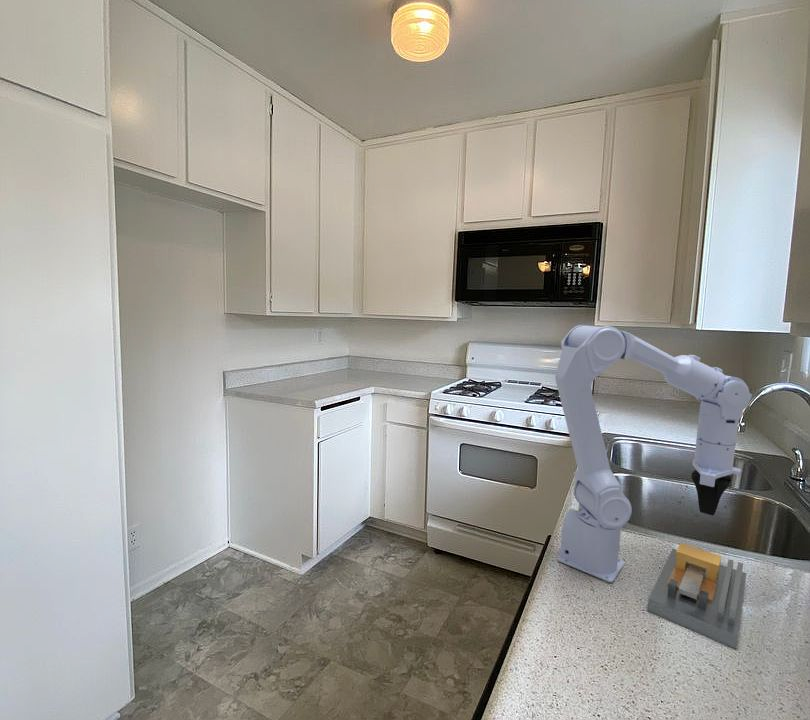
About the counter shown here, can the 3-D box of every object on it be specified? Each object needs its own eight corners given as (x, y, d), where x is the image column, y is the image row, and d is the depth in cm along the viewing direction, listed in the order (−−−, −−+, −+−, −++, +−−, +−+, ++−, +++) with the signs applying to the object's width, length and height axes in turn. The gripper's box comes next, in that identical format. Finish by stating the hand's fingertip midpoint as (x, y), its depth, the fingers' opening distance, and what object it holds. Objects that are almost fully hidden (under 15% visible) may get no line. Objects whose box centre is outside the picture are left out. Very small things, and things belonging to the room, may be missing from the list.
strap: (678, 592, 67) (678, 588, 66) (689, 563, 75) (689, 560, 75) (696, 599, 65) (697, 595, 65) (705, 569, 73) (706, 565, 73)
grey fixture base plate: (647, 610, 66) (650, 584, 66) (671, 558, 81) (674, 536, 80) (736, 649, 59) (740, 619, 58) (744, 584, 74) (748, 560, 73)
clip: (674, 568, 74) (676, 551, 74) (678, 559, 77) (680, 542, 77) (716, 583, 70) (718, 565, 70) (719, 573, 73) (721, 555, 73)
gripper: (741, 455, 68) (731, 535, 70) (746, 437, 79) (737, 507, 80) (689, 445, 73) (680, 520, 74) (700, 429, 84) (693, 495, 85)
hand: (707, 512), depth 78 cm, fingers closed
